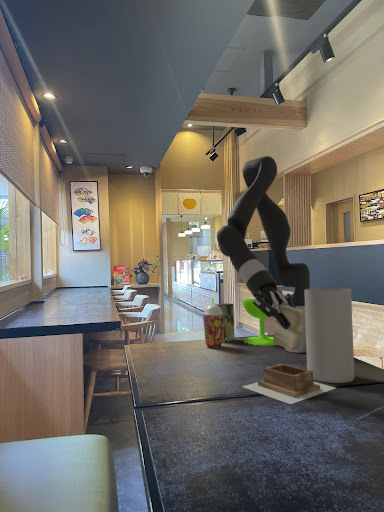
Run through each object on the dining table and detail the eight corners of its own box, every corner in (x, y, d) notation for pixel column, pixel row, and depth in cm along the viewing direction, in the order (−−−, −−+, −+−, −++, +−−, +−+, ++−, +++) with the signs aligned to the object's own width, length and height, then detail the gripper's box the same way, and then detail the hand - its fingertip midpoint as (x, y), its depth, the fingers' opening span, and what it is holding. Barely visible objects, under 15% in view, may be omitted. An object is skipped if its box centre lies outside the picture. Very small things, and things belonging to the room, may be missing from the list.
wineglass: (253, 347, 145) (252, 302, 146) (237, 340, 160) (236, 299, 161) (288, 344, 150) (287, 300, 150) (270, 337, 165) (268, 298, 166)
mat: (286, 375, 105) (286, 374, 105) (336, 389, 92) (336, 387, 92) (241, 388, 95) (241, 386, 95) (290, 405, 82) (290, 404, 82)
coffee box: (222, 338, 166) (222, 303, 167) (235, 339, 162) (234, 303, 163) (211, 341, 159) (211, 304, 159) (224, 342, 155) (223, 305, 156)
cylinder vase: (359, 385, 95) (355, 290, 96) (310, 383, 97) (307, 291, 98) (349, 372, 107) (345, 288, 108) (305, 370, 110) (302, 288, 111)
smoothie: (200, 346, 149) (199, 297, 150) (217, 344, 153) (216, 296, 153) (209, 349, 142) (208, 298, 142) (227, 347, 145) (226, 297, 146)
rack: (283, 378, 101) (282, 362, 101) (320, 389, 92) (319, 371, 92) (257, 385, 96) (257, 368, 96) (294, 397, 86) (294, 378, 86)
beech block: (281, 341, 98) (285, 305, 97) (299, 348, 93) (303, 310, 92) (273, 342, 96) (276, 305, 95) (291, 350, 91) (295, 311, 90)
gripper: (245, 269, 97) (282, 319, 86) (280, 268, 105) (318, 314, 95) (232, 288, 101) (266, 338, 90) (267, 286, 109) (301, 332, 99)
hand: (292, 326), depth 93 cm, fingers closed on beech block, 3 cm apart
